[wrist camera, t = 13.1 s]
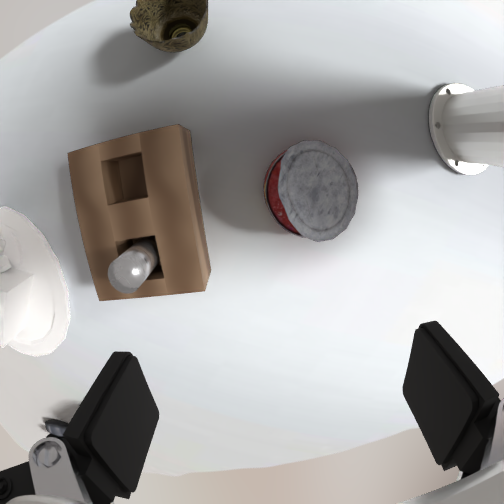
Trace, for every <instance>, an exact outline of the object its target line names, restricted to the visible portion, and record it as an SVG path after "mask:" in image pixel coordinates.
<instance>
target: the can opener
mask: <svg viewBox="0 0 504 504" xmlns="http://www.w3.org/2000/svg"><path fill="white" fill-rule="evenodd" d="M45 425H46V429H47V431H48V432H49V433H50V434H49V435H48V436H47V437H46V438H48V437H53V438H57V439H60V440H61V441H62V440H63V439H64V436H63V433H64V432H65V430H66V428H67V426H68V425H69V424H68V423H65V422H62V421H58V420H47V421H46V422H45Z"/></svg>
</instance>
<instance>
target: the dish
mask: <svg viewBox="0 0 504 504" xmlns="http://www.w3.org/2000/svg"><path fill="white" fill-rule="evenodd" d="M70 319H71V316H70V304H69V291H68V288H67V285H66V282H65V279H64V276H63V273H62V269H61V266H60V263H59V261H58V259H57V257H56V255H55V254H54V252H53V250H52V249H51V247H50V245H49V243H48V241H47V240H46V238H45V236H44V234H43V233H42V232H41V231H40V230H39V229H38V228H37V227H36V226H35V225H34V224H33V223H32V222H31V221H30V220H29V219H28V218H27V217H26V216H25V215H24V214H22V213H19V212H17V211H15V210H13V209H11V208H9V207H7V206H4V207H0V346H1V347H2V348H3V347H4V346H5V345H6V344H7V345H9V346H10V347H12V348H13V349H15V350H16V351H18V352H20V353H24V354H27V355H31V356H35V357H37V356H42V355H46V354H51V353H52V352H53V351H54V350H55V349H56V348H57V347H58V346H59V345H60V344H61V343H62V342H63V340H64V339H65V338H66V334H67V330H68V326H69V323H70Z"/></svg>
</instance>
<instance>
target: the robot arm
mask: <svg viewBox="0 0 504 504" xmlns="http://www.w3.org/2000/svg"><path fill="white" fill-rule="evenodd" d="M429 127H430V132H431V137H432V140H433V142H434V145H435V148H436V149H437V151H438V153H439V155H440V157H441V158H442V159H443V161H444V162H445V163H446V164H447V165H448V166H449V167H450V168H451V169H453V170H454V171H456V172H458V173H461V174H466V175H475V174H478V173H480V172H482V171H483V170H484V169H485V168H486V167H487V166H488V165H489V166H497V167H504V85H501V86H495V87H490V88H485V89H479V90H473V89H471V88H470V87H468V86H466V85H463V84H460V83H452V84H448V85H445V86H443V87H441V88H440V89H439V90H438V91H437V92H436V93H435V95H434V97H433V99H432V101H431V105H430V109H429ZM403 395H404V397H405V399H406V401H407V403H408V405H409V407H410V409H411V411H412V413H413V415H414V417H415V419H416V421H417V423H418V425H419V427H420V429H421V431H422V433H423V436H424V438H425V440H426V442H427V444H428V446H429V448H430V450H431V452H432V455H433V457H434V459H435V461H436V463H437V464H438V465H442V467H443V470H444V471H445V470H448V469H450V468H452V467H455V466H458V468H459V470H460V472H459V475H458V477H457V480H456V482H454V483H452V484H449V485H447V486H445V487H442V488H439V489H437V490H434V491H432V492H429V493H427V494H424V495H421V496H418V497H415V498H413V499H410V500H406V501H403V502H400V503H397V504H504V398H503V399H502V401H501V400H500V399H499V398H498V396H499V393H498V392H497V391H496V390H495V388H494V387H493V386H492V384H491V383H490V382H489V381H488V379H487V378H486V377H485V376H484V374H483V373H482V372H481V371H480V370H479V368H478V367H477V366H476V365H475V364H474V362H473V361H472V360H471V359H470V358H469V357H468V355H467V354H466V353H465V352H464V351H463V350H462V348H461V347H460V346H459V345H458V344H457V343H456V342H455V341H454V339H453V338H452V337H451V336H450V335H449V334H448V333H447V332H446V330H445V329H444V328H443V327H442V326H441V325H440V324H439V323H438V322H437V321H431V322H427V323H423V324H420V326H419V328H418V329H416V330H415V333H414V338H413V344H412V349H411V354H410V358H409V363H408V367H407V372H406V376H405V380H404V384H403ZM158 419H159V410H158V408H157V406H156V403H155V401H154V399H153V396H152V394H151V392H150V389H149V387H148V385H147V382H146V380H145V377H144V375H143V372H142V370H141V367H140V364H139V362H138V359H137V358H136V357H135V356H133V355H132V354H131V353H130V352H114V353H113V354H112V355H111V357H110V358H109V360H108V361H107V363H106V364H105V366H104V367H103V369H102V371H101V372H100V374H99V375H98V377H97V378H96V380H95V382H94V383H93V385H92V386H91V388H90V390H89V391H88V393H87V395H86V396H85V398H84V399H83V401H82V403H81V404H80V406H79V408H78V409H77V411H76V413H75V414H74V416H73V418H72V419H71V421H70V423H69V425H68V426H67V428H66V430H65V432H64V433H63V436H64V439H63V440H62V441H61V440H60V439H57V438H53V437H48V438H43V439H41V440H39V441H38V442H36V443H35V444H34V445H33V446H32V448H31V449H30V452H29V461H28V462H25V463H23V464H20V465H17V466H14V467H11V468H9V469H6V470H3V471H0V504H114V502H113V501H114V498H115V496H118V497H122V498H126V499H129V498H130V494H131V492H134V491H135V490H136V488H137V485H138V481H139V478H140V475H141V472H142V469H143V466H144V462H145V459H146V456H147V453H148V450H149V447H150V444H151V441H152V438H153V435H154V432H155V429H156V425H157V422H158Z"/></svg>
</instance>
